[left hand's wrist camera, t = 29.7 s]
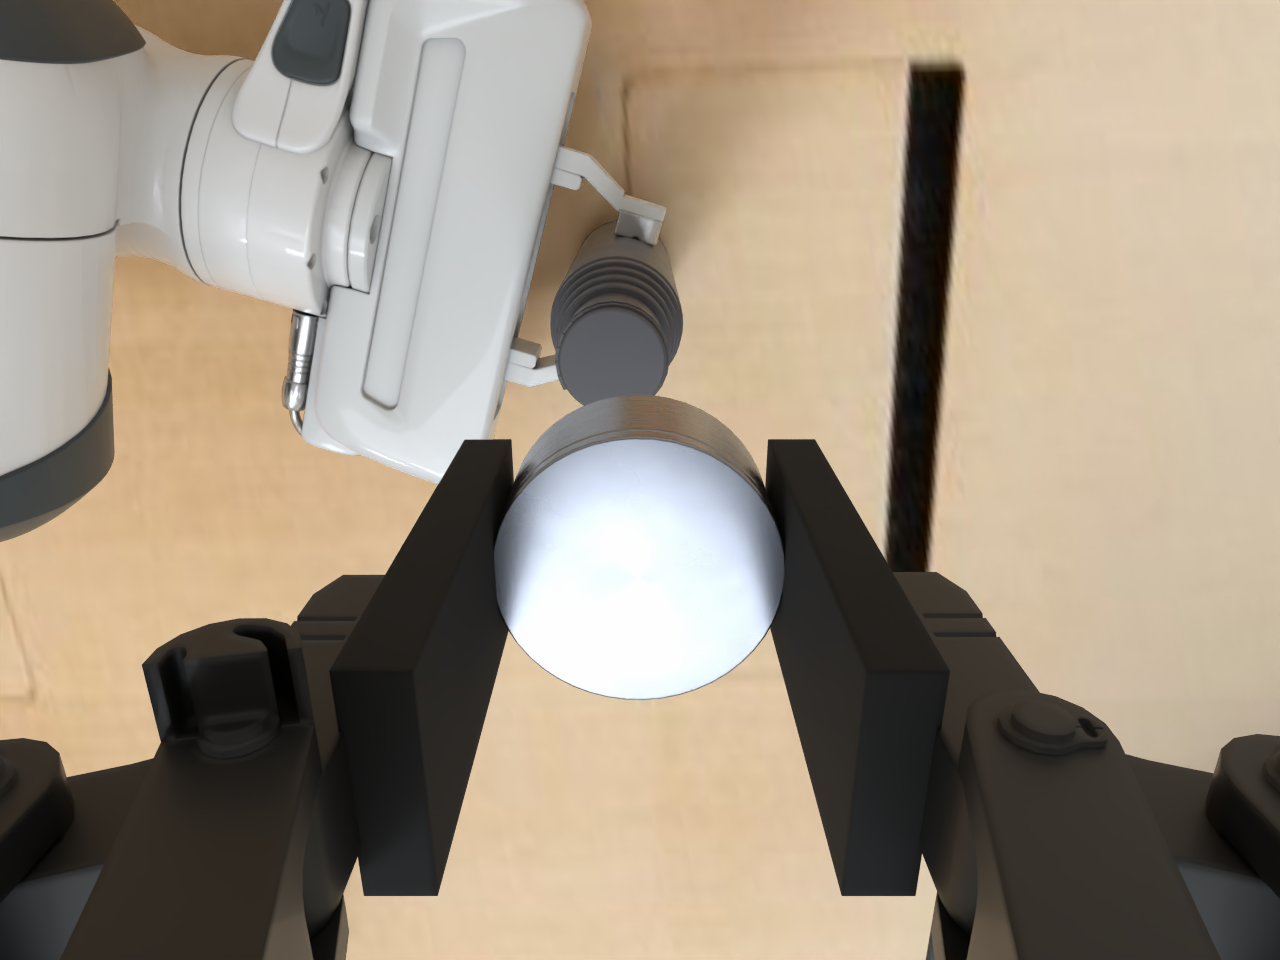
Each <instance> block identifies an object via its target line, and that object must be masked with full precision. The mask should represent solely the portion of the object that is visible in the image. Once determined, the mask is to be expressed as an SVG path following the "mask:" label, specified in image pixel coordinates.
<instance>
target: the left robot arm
mask: <svg viewBox="0 0 1280 960" xmlns="http://www.w3.org/2000/svg"><path fill="white" fill-rule="evenodd" d="M513 484H514V478H513V461H512V444H511V439H465V440H464V441H463V443H462V445H461V446H460V448H459V450H458V452H457V453H456V455H455V457H454V458H453V460H452V462H451V464H450V465H449V467H448V469H447V470H446V472H445V474H444V475H443V477H442V479H441V481H440V482H439V484H438V486H437V487H436V489H435V491H434V493H433V494H432V496H431V498H430V499H429V501H428V503H427V505H426V506H425V508H424V510H423V511H422V513H421V515H420V516H419V518H418V520H417V522H416V523H415V525H414V527H413V528H412V530H411V532H410V534H409V535H408V537H407V539H406V540H405V542H404V544H403V546H402V547H401V549H400V551H399V552H398V554H397V556H396V557H395V559H394V561H393V563H392V564H391V566H390V568H389V569H388V571H387V573H386V575H342V576H341V577H339V578H338V579H336V580H335V581H333V582H332V583H330V584H329V585H327V586H325V587H324V588H322V589H321V590H319V591H318V592H316V593H315V594H313V596H312V597H311V598H310V600H309V601H308V603H307V604H306V605H305V607H304V608H303V610H302V611H301V612H300V614H299V615H298V617H297V621H294V622H293V624H292V625H291V626H290V625H288V624H287V623H283V622H279V621H275V620H271V619H267V618H246V619H234V620H229V621H223V622H218V623H213V624H208V625H205V626H203V627H200V628H197V629H194V630H192V631H189V632H186V633H183V634H181V635H179V636H177V637H176V638H174V639H172V640H171V641H169V642H167V643H166V644H164V645H162V646H161V647H159V648H157V649H156V650H155V651H154V652H153V653H152V654H151V656H150V657H149V658H148V659H147V660H146V661H145V662H144V663H143V664H142V667H143V671H144V675H145V679H146V683H147V687H148V691H149V695H150V700H151V704H152V708H153V712H154V716H155V720H156V724H157V728H158V732H159V736H160V740H161V744H160V746H159V748H158V750H157V752H156V754H155V757H154V758H153V759H149V760H145V761H142V762H138V763H134V764H130V765H125V766H120V767H115V768H110V769H105V770H100V771H96V772H91V773H86V774H81V775H76V776H71V777H66V774H65V771H64V767H63V764H62V761H61V757H60V754H59V752H57V751H56V750H55V749H54V748H53V747H51V746H50V745H49V744H48V743H47V742H42V741H37V740H31V739H25V738H19V739H9V740H0V960H346V952H347V943H348V935H349V929H348V921H347V914H346V908H345V902H344V896H343V892H344V890H345V887H346V885H347V882H348V880H349V877H350V875H351V872H352V869H353V867H354V864H355V862H356V859H357V857H358V860H359V867H360V873H361V880H362V886H363V892H364V896H438V893H439V889H440V885H441V881H442V878H443V874H444V870H445V866H446V863H447V859H448V855H449V851H450V848H451V844H452V840H453V836H454V833H455V829H456V825H457V821H458V818H459V814H460V810H461V806H462V803H463V799H464V795H465V792H466V788H467V784H468V780H469V777H470V773H471V769H472V765H473V762H474V758H475V754H476V750H477V747H478V743H479V739H480V735H481V732H482V728H483V724H484V720H485V717H486V713H487V709H488V705H489V702H490V698H491V694H492V690H493V687H494V683H495V679H496V675H497V672H498V668H499V664H500V661H501V657H502V653H503V649H504V646H505V642H506V638H507V634H508V631H509V630H508V629H507V627H506V625H505V623H504V621H503V619H502V617H501V615H500V612H499V609H498V606H497V594H496V579H495V565H494V549H493V542H494V539H495V535H496V531H497V528H498V525H499V522H500V520H501V517H502V514H503V511H504V509H505V506H506V503H507V500H508V498H509V495H510V492H511V490H512V487H513ZM765 489H766V492H767V495H768V498H769V500H770V503H771V506H772V509H773V512H774V514H775V517H776V520H777V523H778V526H779V528H780V531H781V534H782V537H783V542H784V548H785V571H784V585H783V596H782V601H781V605H780V607H779V610H778V612H777V615H776V617H775V620H774V622H773V623H772V625H771V627H770V629H771V633H772V636H773V640H774V644H775V648H776V651H777V655H778V659H779V663H780V666H781V670H782V674H783V678H784V681H785V685H786V689H787V693H788V696H789V700H790V704H791V708H792V711H793V715H794V719H795V723H796V726H797V730H798V734H799V737H800V741H801V745H802V749H803V752H804V756H805V760H806V764H807V767H808V771H809V775H810V779H811V782H812V786H813V790H814V794H815V797H816V801H817V805H818V809H819V812H820V816H821V820H822V824H823V827H824V831H825V835H826V839H827V842H828V846H829V850H830V854H831V857H832V861H833V865H834V869H835V872H836V876H837V880H838V884H839V887H840V891H841V895H842V896H915V895H916V889H917V882H918V876H919V869H920V863H921V856H922V854H923V856H924V859H925V862H926V864H927V867H928V869H929V872H930V874H931V877H932V879H933V882H934V884H935V887H936V889H937V896H936V902H935V908H934V914H933V920H932V926H931V932H930V938H929V944H928V950H927V956H926V960H1280V736H1272V735H1262V734H1255V735H1249V736H1244V737H1238V738H1234V739H1232V740H1231V741H1230V742H1229V743H1228V744H1227V745H1225V746H1224V747H1223V748H1222V749H1221V751H1220V755H1219V758H1218V761H1217V765H1216V768H1215V771H1214V774H1213V773H1208V772H1203V771H1198V770H1193V769H1189V768H1184V767H1179V766H1174V765H1169V764H1164V763H1159V762H1154V761H1149V760H1145V759H1141V758H1138V757H1134V756H1130V755H1126V754H1125V753H1124V751H1123V749H1122V746H1121V744H1120V742H1119V741H1118V739H1117V738H1116V737H1115V735H1114V734H1113V733H1112V732H1111V730H1110V729H1109V728H1108V726H1107V725H1106V724H1105V723H1104V722H1102V721H1101V720H1100V719H1098V718H1097V717H1095V716H1094V715H1092V714H1091V713H1090V712H1088V711H1087V710H1085V709H1084V708H1082V707H1080V706H1077V705H1075V704H1073V703H1070V702H1068V701H1066V700H1063V699H1061V698H1058V697H1056V696H1052V695H1047V694H1043V693H1040V692H1039V691H1038V690H1037V688H1036V687H1035V685H1034V684H1033V683H1032V681H1031V680H1030V679H1029V677H1028V676H1027V674H1026V673H1025V672H1024V670H1023V669H1022V668H1021V666H1020V665H1019V663H1018V662H1017V661H1016V659H1015V658H1014V656H1013V655H1012V654H1011V652H1010V651H1009V650H1008V648H1007V647H1006V645H1005V644H1004V643H1003V641H1002V640H1001V639H1000V637H996V632H995V630H994V629H993V627H992V626H991V625H990V623H989V622H988V621H987V619H986V618H983V617H982V612H981V611H980V610H979V608H978V607H977V605H976V604H975V603H974V601H973V600H972V599H971V597H970V596H969V594H968V593H967V592H966V591H965V590H963V589H962V588H960V587H959V586H957V585H956V584H954V583H953V582H951V581H950V580H948V579H946V578H945V577H943V576H942V575H940V574H939V573H937V572H892V570H891V569H890V567H889V565H888V564H887V562H886V560H885V559H884V557H883V555H882V553H881V552H880V550H879V548H878V547H877V545H876V543H875V541H874V540H873V538H872V536H871V535H870V533H869V531H868V529H867V528H866V526H865V524H864V523H863V521H862V519H861V518H860V516H859V514H858V512H857V511H856V509H855V507H854V506H853V504H852V502H851V500H850V499H849V497H848V495H847V494H846V492H845V490H844V488H843V487H842V485H841V483H840V482H839V480H838V478H837V477H836V475H835V473H834V471H833V470H832V468H831V466H830V465H829V463H828V461H827V459H826V458H825V456H824V454H823V453H822V451H821V449H820V447H819V446H818V444H817V442H816V441H815V439H768V451H767V468H766V486H765Z"/></svg>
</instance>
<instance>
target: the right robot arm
mask: <svg viewBox="0 0 1280 960" xmlns="http://www.w3.org/2000/svg"><path fill="white" fill-rule="evenodd" d="M591 30H592V19H591V16H590V13H589V10H588V8H587V6H586V4H585V3H584V1H583V0H283V3H282V5H281V7H280V9H279V12H278V14H277V16H276V18H275V20H274V22H273V24H272V27H271V29H270V31H269V33H268V35H267V37H266V39H265V41H264V43H263V45H262V47H261V49H260V51H259V53H258V55H257V57H256V59H255V61H254V60H250V59H247V58H243V57H239V56H230V55H200V54H194V53H191V52H187V51H184V50H181V49H178V48H176V47H174V46H172V45H170V44H169V43H167V42H165V41H164V40H162V39H161V38H159V37H158V36H156V35H154V34H153V33H151V32H149V31H147V30H145V29H143V28H141V27H139V26H137V25H135V24H133V23H132V21H131V20H130V19H129V18H128V17H127V15H126V14H125V13H124V12H123V11H122V10H121V9H120V8H119V7H118V6H117V5H116V4H115V3H114V2H113V0H0V542H2V541H5V540H9V539H12V538H15V537H17V536H20V535H22V534H25V533H27V532H30V531H32V530H34V529H36V528H37V527H39V526H41V525H43V524H45V523H47V522H49V521H50V520H52V519H54V518H55V517H57V516H58V515H60V514H61V513H63V512H64V511H66V510H67V509H68V508H69V507H71V506H72V505H73V504H75V503H76V502H77V501H79V500H80V499H81V498H82V497H83V496H85V495H86V494H87V493H88V492H89V491H90V490H91V489H93V488H94V487H95V486H96V485H97V484H98V483H99V482H100V481H101V480H102V479H103V478H104V477H105V475H106V474H107V473H108V471H109V469H110V467H111V465H112V462H113V459H114V429H113V404H112V378H111V374H110V370H109V353H110V337H111V321H112V305H113V289H114V273H115V257H116V256H120V257H125V256H134V257H145V258H149V259H153V260H157V261H160V262H162V263H165V264H167V265H169V266H171V267H173V268H175V269H176V270H178V271H179V272H181V273H183V274H184V275H186V276H188V277H189V278H191V279H193V280H196V281H198V282H201V283H203V284H206V285H209V286H213V287H217V288H220V289H224V290H227V291H231V292H235V293H238V294H242V295H245V296H249V297H253V298H256V299H260V300H263V301H267V302H271V303H275V304H278V305H281V306H285V307H288V308H292V309H293V314H292V320H291V322H292V323H291V330H290V337H289V358H288V361H289V362H288V369H287V376H285V378H284V381H283V386H282V404H283V406H284V408H286V409H288V410H289V413H290V417H291V421H292V423H293V425H294V427H295V429H296V430H297V431H298V433H299V434H300V435H301V436H302V438H303V439H304V441H306V442H307V443H309V444H311V445H313V446H315V447H318V448H321V449H325V450H329V451H333V452H336V453H340V454H344V455H354V456H359V455H363V456H365V457H367V458H369V459H372V460H374V461H376V462H379V463H381V464H383V465H386V466H388V467H391V468H393V469H396V470H398V471H401V472H403V473H406V474H409V475H412V476H415V477H417V478H420V479H423V480H426V481H429V482H433V483H436V484H439V482H440V481H441V479H442V477H443V475H444V474H445V472H446V470H447V469H448V467H449V465H450V464H451V462H452V460H453V458H454V457H455V455H456V453H457V452H458V450H459V448H460V446H461V445H462V443H463V441H464V440H465V439H494V435H495V431H496V427H497V422H498V418H499V414H500V410H501V406H502V402H503V397H504V393H505V389H506V385H507V381H510V382H514V383H517V384H521V385H525V386H528V387H532V386H536V385H540V384H544V383H548V382H552V381H556V380H559V379H558V376H557V370H556V365H555V357H556V355H552V356H547V357H543V358H539V357H540V354H541V350H542V347H541V345H540V344H537V343H534V342H530V341H527V340H523V339H520V338H518V335H519V331H520V327H521V322H522V318H523V314H524V310H525V306H526V302H527V297H528V293H529V289H530V285H531V281H532V276H533V272H534V268H535V264H536V260H537V256H538V251H539V247H540V243H541V239H542V235H543V231H544V226H545V222H546V218H547V214H548V210H549V206H550V201H551V197H552V193H553V189H554V185H559V186H562V187H566V188H569V189H572V190H578V189H579V188H581V187H582V186H583V183H584V179H585V178H586V179H587V180H588V181H589V183H590V184H591V185H592V186H593V187H594V188H595V189H596V190H597V191H598V192H599V193H600V194H601V195H602V196H603V197H604V198H605V199H606V200H607V201H608V203H609V204H610V205H611V206H612V207H613V208H614V209H615V210H616V211H617V212H618V213H619V216H618V220H617V224H616V228H615V232H614V234H617V235H621V236H624V237H628V238H632V237H635V236H637V237H638V239H639V240H640V241H642V242H644V243H647V244H651V245H656V244H657V240H658V237H659V234H660V231H661V228H662V224H663V220H664V217H665V214H666V210H667V209H666V207H663V206H661V205H658V204H655V203H652V202H649V201H645V200H642V199H639V198H636V197H632V196H629V195H626V194H624V192H625V191H624V189H623V188H622V187H621V186H620V185H619V184H618V183H617V182H616V181H615V180H614V179H613V178H612V176H611V175H610V174H609V173H608V172H607V171H606V170H605V169H604V168H603V167H602V166H601V165H600V163H599V162H598V161H597V160H596V159H595V158H594V157H593V156H592V155H591V154H588V153H585V152H582V151H578V150H575V149H572V148H569V147H565V146H564V143H565V139H566V135H567V130H568V126H569V122H570V118H571V114H572V110H573V105H574V101H575V97H576V93H577V89H578V85H579V80H580V76H581V72H582V68H583V64H584V60H585V55H586V51H587V47H588V43H589V39H590V34H591ZM619 211H620V212H619ZM304 409H305V412H304V418H303V422H302V420H301V417H300V412H299V411H302V410H304Z"/></svg>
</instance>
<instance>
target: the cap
mask: <svg viewBox="0 0 1280 960" xmlns="http://www.w3.org/2000/svg"><path fill="white" fill-rule="evenodd" d="M493 549H494V565H495V579H496V594H497V606H498V609H499V612H500V615H501V617H502V619H503V621H504V623H505V625H506V627H507V629H508V630H509V632H510V633H511V635H512V636H513V638H514V639H515V641H516V642H517V643H518V645H519V646H520V647H521V648H522V649H523V650H524V651H525V653H526V654H527V655H528V656H529V657H530V658H531V659H532V660H534V661H535V662H536V663H537V664H538V665H539V666H541V667H542V668H543V669H544V670H546V671H547V672H549V673H550V674H552V675H553V676H555V677H556V678H558V679H560V680H562V681H564V682H566V683H568V684H570V685H572V686H574V687H576V688H579V689H582V690H584V691H587V692H590V693H594V694H598V695H602V696H606V697H611V698H619V699H629V700H648V699H660V698H666V697H671V696H676V695H680V694H684V693H687V692H690V691H693V690H696V689H698V688H701V687H703V686H705V685H707V684H710V683H712V682H714V681H715V680H717V679H719V678H721V677H722V676H724V675H726V674H727V673H729V672H730V671H731V670H733V669H734V668H735V667H736V666H738V665H739V664H740V663H742V662H743V661H744V660H745V659H746V658H747V657H748V656H749V655H750V654H751V653H752V652H753V651H754V650H755V648H756V647H757V646H758V645H759V643H760V642H761V641H762V639H763V638H764V637H765V635H766V634H767V632H768V630H769V628H770V627H771V625H772V623H773V622H774V620H775V617H776V615H777V612H778V610H779V607H780V605H781V601H782V596H783V585H784V571H785V548H784V542H783V537H782V534H781V531H780V528H779V526H778V523H777V520H776V517H775V514H774V512H773V509H772V506H771V503H770V500H769V498H768V495H767V492H766V489H765V487H764V484H763V481H762V478H761V476H760V473H759V470H758V468H757V466H756V464H755V462H754V460H753V458H752V456H751V454H750V453H749V452H748V450H747V449H746V447H745V446H744V445H743V443H742V442H741V441H740V440H739V439H738V438H737V436H736V435H735V434H734V433H733V432H732V431H731V430H730V429H729V428H727V427H726V426H725V425H724V424H722V423H721V422H720V421H719V420H717V419H716V418H714V417H713V416H711V415H709V414H708V413H706V412H704V411H703V410H701V409H699V408H696V407H694V406H692V405H689V404H687V403H684V402H681V401H678V400H674V399H671V398H666V397H659V396H653V395H627V396H616V397H612V398H608V399H603V400H599V401H596V402H593V403H591V404H588V405H585V406H583V407H581V408H579V409H577V410H575V411H573V412H571V413H569V414H567V415H566V416H565V417H563V418H562V419H560V420H559V421H557V422H556V423H555V424H553V425H552V426H551V427H550V428H549V429H548V430H547V431H546V432H545V433H544V434H542V435H541V437H540V438H539V439H538V440H537V441H536V443H535V444H534V445H533V446H532V448H531V449H530V451H529V452H528V454H527V456H526V457H525V459H524V461H523V462H522V464H521V467H520V469H519V471H518V474H517V476H516V479H515V481H514V484H513V487H512V490H511V492H510V495H509V498H508V500H507V503H506V506H505V509H504V511H503V514H502V517H501V520H500V522H499V525H498V528H497V531H496V535H495V539H494V542H493Z"/></svg>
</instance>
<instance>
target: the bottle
mask: <svg viewBox="0 0 1280 960" xmlns="http://www.w3.org/2000/svg"><path fill="white" fill-rule="evenodd" d="M616 224H617V221H613V222H609V223H607V224H604V225H602V226H600V227H599V228H597V229H596V230H594V231H593V232H592V233H591V234H590V235H589V236H588V237H587V239H586V240H585V242H584V243H583V245H582V247H581V249H580V250H579V252H578V254H577V256H576V258H575V260H574V262H573V264H572V265H571V267H570V269H569V271H568V273H567V275H566V277H565V279H564V281H563V282H562V284H561V286H560V288H559V290H558V292H557V294H556V297H555V299H554V302H553V306H552V311H551V336H552V340H553V345H554V347H555V350H556V357H555V365H556V370H557V376H558V379H559V381H560V383H561V385H562V387H563V389H564V390H565V389H567V390H568V391H569V393H570V394H571V395H572V396H573V397H574V398H575V399H576V400H577V401H578V402H580V403H581V404H582V405H584V406H585V405H588V404H591V403H593V402H596V401H599V400H603V399H608V398H612V397H616V396H627V395H653V396H655V394H656V393H657V392H658V391H659V389H660V388H661V387H662V385H663V383H664V380H665V378H666V375H667V373H668V366H669V365H670V363H671V362H672V360H673V359H674V357H675V355H676V353H677V350H678V347H679V344H680V340H681V336H682V330H683V315H682V309H681V304H680V301H679V297H678V293H677V289H676V285H675V281H674V277H673V273H672V269H671V265H670V261H669V257H668V254H667V251H666V248H665V246H664V244H663V243H662V241H661V240H660V238H659V237H658V240H657V244H656V245H651V244H647V243H644V242H642V241H640V240H639V239H638V237H637V236H635V237H632V238H628V237H624V236H621V235H617V234H614V232H615V228H616Z"/></svg>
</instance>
